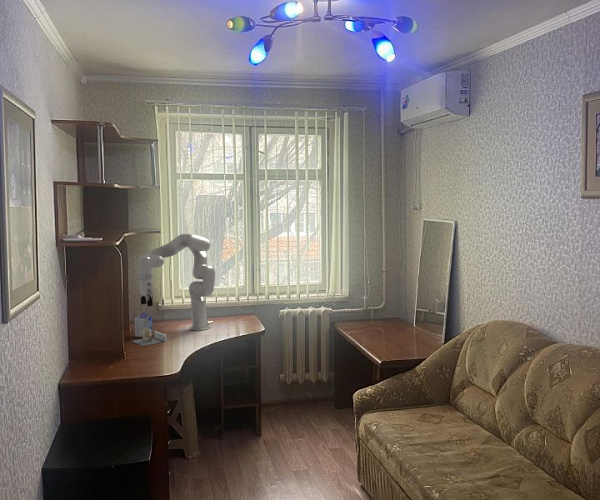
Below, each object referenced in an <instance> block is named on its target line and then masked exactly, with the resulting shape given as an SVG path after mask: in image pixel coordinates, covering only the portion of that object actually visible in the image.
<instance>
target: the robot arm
mask: <svg viewBox="0 0 600 500" xmlns="http://www.w3.org/2000/svg"><path fill="white" fill-rule="evenodd" d="M185 248H188V250H190V251H191V253H192V256H193V266H192V267H193V269H192V276H193V278H194V279H197V280H195V281H192V282H190V284H189V286H188V293H189V297H190V306H191V308H190V309H191V326H190V327H189V330H191V331H205V330H208V329H210V326H209V325H214V321H213V320H212V321H211V320H210V321H209V320H207V305H206V304H207V302H206V299H205V297H211V296H212V295H213V293H214V289H215V283H216V282H215V280H216V270H215V268H214V267H213V266H211V265H208V255H207V253H206V252H208V251H209V250H210V248H211V242H210V240H209V239H208V238H205V237H202V236H199V235H196V234H193V233H181V234H179V235H177V236H176V237H174V238H173V239H172V240H170V241H169V242H167V243H166V244H164V245H161V246H159V247H157V248H154V249H152V250H151V251H149V252H147V253H146V254H145V255H144V256H140V257H138V258H137V268H138V269H137V270H138V271H137V272H138V280H139V295H140V297H139V298H140V305H147V307H153V305H154V303H153V302H154V301H153V297H154V287H153V281H152V278H153V277H152V269H153V268H154V269H155V268H161V267H162V266H163V265H164V264H165V263H164V262H165V260H164V259H166V258H170V257H173V256H175V255H177V254H178V253H179V252H181V251H182V250H184V249H185ZM199 280H200V281H199ZM201 280H202V281H201Z"/></svg>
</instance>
